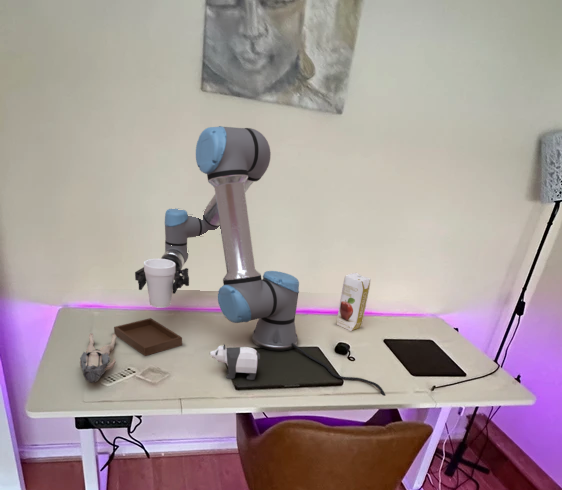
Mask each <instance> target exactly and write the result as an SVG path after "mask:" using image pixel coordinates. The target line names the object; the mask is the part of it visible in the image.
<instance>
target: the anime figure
mask: <svg viewBox="0 0 562 490" xmlns="http://www.w3.org/2000/svg"><path fill="white" fill-rule="evenodd" d="M111 337H112V338H111V339H110V340H111V341H110V344H105V345H103V346H102V347H100V348H99V349H96V348H95V344H96V343H95V340H94V334H93V333H89V334H88V339H89V344H88V345H87V348H86V350H85V351H83V352H82V354H81V356H80V357H79V365H80V368H81V370H82V375H83V377H84V379H85V380H86V381H87V382H89V383H96V382H98V381H99V380H100V379H101V377H102V376H103V375H104V374H105V373H106V371H107V370H111V369H113V367H114V366H115V364H116V359H115V358H112V359H113V361H111V357H110V354H111V352H112V351H113V350H114V349H115V343H116V341H117V338H118V337H117V336H116V335H115V334H112V335H111ZM110 361H111V362H110Z"/></svg>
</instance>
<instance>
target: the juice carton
mask: <svg viewBox="0 0 562 490" xmlns="http://www.w3.org/2000/svg"><path fill="white" fill-rule="evenodd" d="M371 280H372V279H371V277H368V276H363V275H361V274H359V273H357V272H352V273H349V274H346V275H345V276H344V279H343V283H342V289H341V295H340V300H339V305H338V311H337V316H336V325H337V326H339V327H341V328H344V329H346V330H347V331H350V332H352V331H354V330H357V329H360V328H361V327H362V325H363V322H364V317H365V312H366V307H367V303H368V298H369V293H370V286H371Z"/></svg>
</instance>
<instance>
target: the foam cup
mask: <svg viewBox="0 0 562 490" xmlns="http://www.w3.org/2000/svg"><path fill="white" fill-rule="evenodd" d="M143 267H144V272H145V276H146V287H147V293H148V298H149V304H150V306H151V307H154V308H158V309H162V308H164V309H165V308H168V307H170V306H171V304H172V298H173V297H172V295H173V283H174V281H175V280H174V275H175V262H173V261H171V260H167V259H161V257H160V258H158V257H157V258H149V259H146V260H144V261H143Z"/></svg>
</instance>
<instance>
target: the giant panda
mask: <svg viewBox="0 0 562 490" xmlns="http://www.w3.org/2000/svg"><path fill="white" fill-rule="evenodd" d="M209 356H210V357H211V358H213V359H214V360H216V361H217V362H218V363H223V364H226V366H227V368H228V369H226V373H228V374H227V375H226V376H225V378H226V379H231V380H232V379H235V378H236V374H237V373H241V374H247V376H246V380H249V381H253V380H254V381H255V379H256V376H257V370H258V360H261V353H259V352H258V351H257V350H256V349H255V348H253V347H248V346H242V347H241V346H239V347H226V345H225V343H223V345H218V346H217V347H216V349H214V350H211V351H209Z"/></svg>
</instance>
